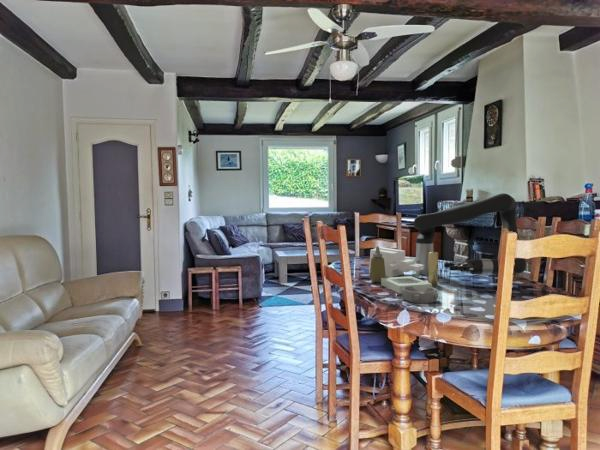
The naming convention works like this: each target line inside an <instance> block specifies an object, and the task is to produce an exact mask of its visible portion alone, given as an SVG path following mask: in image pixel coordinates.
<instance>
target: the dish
mask: <svg viewBox="0 0 600 450" xmlns="http://www.w3.org/2000/svg"><path fill="white" fill-rule="evenodd" d="M401 295H402V299H404V301H406V302H410V303H415V304H429V303H430V304H431V303H435V302H437V301H438V297H439V293H438V289H437V288H436V287H433V286H432V287H428V288H427V290H425V291H423V292H422V291H417V290H416V289H415V288H414V287H413V286H406V287H404V288H403V290H402V294H401Z"/></svg>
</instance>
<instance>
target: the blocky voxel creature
mask: <svg viewBox="0 0 600 450" xmlns="http://www.w3.org/2000/svg"><path fill="white" fill-rule="evenodd" d="M379 250H380V253H382V258H384V263H385V273H386V275H385V278H390V277H399V276H401V275H404V273H408V272H411V271H413V272H414V271H415V272H416V271H420V270H424V266H425V265H421V264H416V259H411V258H406V250H403V249H396V248H391V247H385V246H383V247H382V246H379ZM369 251H370V252H369V254H370V255H369V263H368V264H369V266H368V274H370V267H371V258H373V253H375V251H376V247H375V248H373V249H372V248H371V249H370V250H369Z"/></svg>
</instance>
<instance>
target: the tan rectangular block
mask: <svg viewBox="0 0 600 450" xmlns="http://www.w3.org/2000/svg"><path fill="white" fill-rule="evenodd" d="M438 274H439V252H437V251H433V252H428V277H427V279H428V280H427V281H428V283H431V284H432V287H437V286H438V285H439V284H438V283H439V278H438V277H439V275H438Z"/></svg>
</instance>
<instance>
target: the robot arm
mask: <svg viewBox="0 0 600 450" xmlns="http://www.w3.org/2000/svg"><path fill="white" fill-rule="evenodd" d="M516 208H517V204H516V200H515V198H514V197H513V196H511V195H510V194H508V193H497V194H496V195H493V196H490V197H488V198H487V197H486V198H484V199H481V200H476V201H470V202H467V203H462V204H457V205H455V206H451V207H448V208H445V209H443V210H440V211H436V212H433V213H424V214H419V215H418V216H416V217H415V218H414V220H413V226H414V228H415V229H416V230H418V234H417V237H416V239H415V241H416V242H415V247H416V248H415V263H416V264H421V265H425V266H424V270H420V271H415V273H416V274H417V275H422V276H423V275H426V276H427V275H428V252H434V240H435V236H436V235H435V234H436V227H439V226H445V225H446V226H447V225H448V226H449V225H456V224H461V223H466V222H471V221H472V220H474V219H476V218H479V217H480V216H484V215H486V214H491V213H497V212H499V215H500V218H501V221H502V229H503V228H507V229H508V230H509V231H513V232H516V233H517V234H518V235H519V233H518V228H517V227H518V226H517V216H516V212H517V211H516V210H517V209H516ZM518 239H519V240H520V238H519V236H518ZM443 268H449V271H458V272H460V273H462V272H464V273H465V272H469V273H470V274H471V275H492V274H493V275H497V274H498V258H492V259H491V258H490V259H489V258H470V259H469V261H468V262H466V261H451V262H444V264H443ZM526 269H527V261H526V259H516V260H515V269H514V274H513V275H518V274H522V273H524V271H526ZM498 275H499V274H498Z"/></svg>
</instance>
